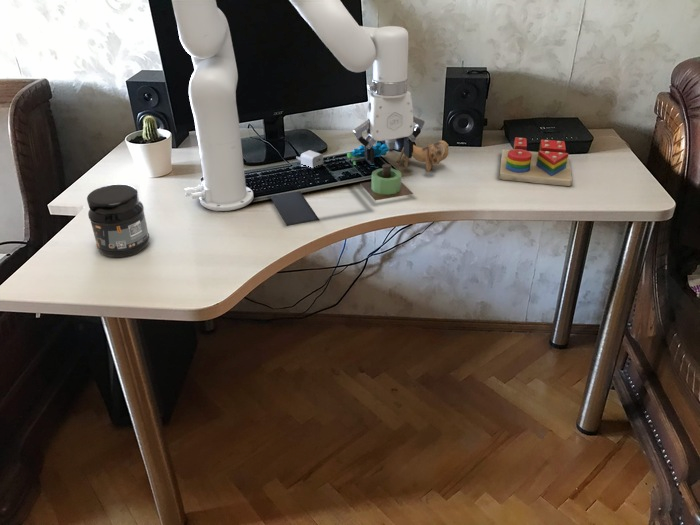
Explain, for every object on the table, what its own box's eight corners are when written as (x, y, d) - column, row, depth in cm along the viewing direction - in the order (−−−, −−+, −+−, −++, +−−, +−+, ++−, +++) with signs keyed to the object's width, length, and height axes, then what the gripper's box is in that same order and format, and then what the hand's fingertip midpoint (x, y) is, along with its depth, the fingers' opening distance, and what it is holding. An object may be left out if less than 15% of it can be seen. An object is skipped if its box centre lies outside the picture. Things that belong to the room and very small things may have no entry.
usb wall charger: (312, 172, 155) (312, 158, 153) (294, 165, 159) (293, 151, 157) (323, 167, 158) (322, 153, 156) (304, 161, 162) (303, 147, 160)
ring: (378, 196, 140) (378, 181, 138) (367, 184, 146) (367, 170, 144) (405, 192, 143) (406, 177, 140) (393, 180, 148) (394, 166, 146)
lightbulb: (376, 147, 170) (377, 109, 164) (396, 145, 171) (397, 107, 166) (383, 155, 165) (384, 116, 159) (404, 152, 166) (406, 114, 161)
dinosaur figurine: (387, 152, 162) (388, 137, 152) (391, 172, 161) (392, 158, 151) (347, 159, 162) (345, 144, 152) (350, 179, 161) (349, 166, 151)
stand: (374, 204, 139) (375, 176, 136) (359, 187, 147) (359, 160, 144) (413, 198, 142) (415, 170, 139) (396, 181, 150) (397, 155, 146)
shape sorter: (567, 160, 162) (571, 139, 158) (571, 186, 147) (576, 164, 144) (501, 154, 165) (504, 133, 162) (499, 179, 151) (502, 157, 148)
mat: (286, 225, 131) (286, 224, 131) (270, 197, 143) (270, 195, 143) (370, 210, 137) (370, 209, 137) (348, 184, 149) (348, 183, 149)
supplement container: (105, 234, 128) (92, 183, 122) (155, 232, 129) (145, 181, 122) (91, 260, 119) (76, 206, 113) (144, 258, 120) (133, 205, 113)
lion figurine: (449, 171, 156) (452, 138, 151) (443, 179, 151) (446, 145, 147) (396, 162, 161) (397, 130, 156) (389, 170, 156) (390, 137, 152)
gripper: (359, 96, 126) (360, 171, 135) (433, 86, 130) (429, 159, 140) (347, 87, 132) (349, 159, 141) (418, 78, 136) (415, 148, 146)
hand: (388, 159), depth 140 cm, fingers open, 9 cm apart
